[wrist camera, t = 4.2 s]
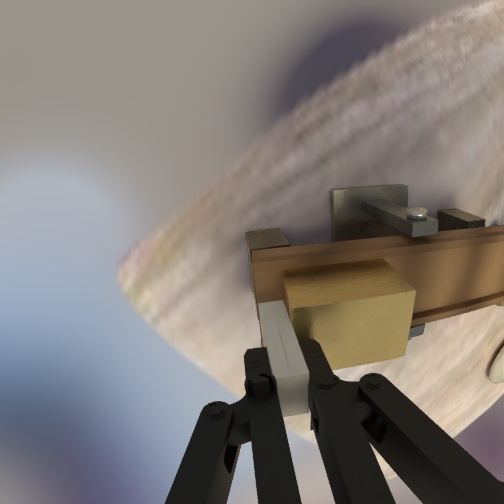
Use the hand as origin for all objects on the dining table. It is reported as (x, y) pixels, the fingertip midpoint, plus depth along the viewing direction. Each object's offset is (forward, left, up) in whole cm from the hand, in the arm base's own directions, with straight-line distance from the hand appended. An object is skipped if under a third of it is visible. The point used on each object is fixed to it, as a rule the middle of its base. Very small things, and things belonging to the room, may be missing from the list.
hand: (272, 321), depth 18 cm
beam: (-11, 0, -2) cm, 11 cm away
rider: (-5, 0, -2) cm, 5 cm away
